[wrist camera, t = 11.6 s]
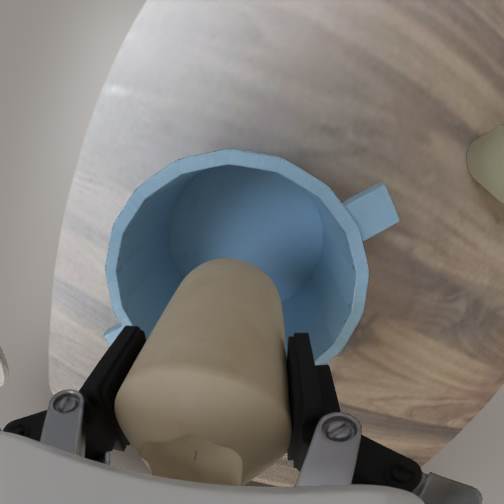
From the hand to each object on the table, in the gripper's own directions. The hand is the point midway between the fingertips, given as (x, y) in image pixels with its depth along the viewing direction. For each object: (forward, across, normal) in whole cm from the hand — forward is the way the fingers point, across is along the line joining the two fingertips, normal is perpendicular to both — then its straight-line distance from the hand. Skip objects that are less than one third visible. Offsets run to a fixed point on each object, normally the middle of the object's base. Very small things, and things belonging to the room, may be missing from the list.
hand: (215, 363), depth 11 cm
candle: (+5, 0, 0) cm, 5 cm away
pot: (+18, 0, 0) cm, 18 cm away
